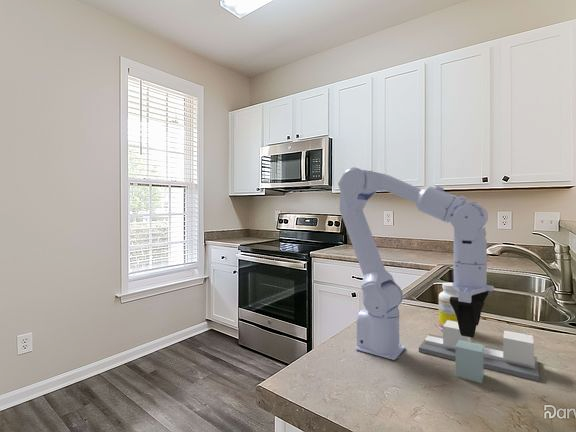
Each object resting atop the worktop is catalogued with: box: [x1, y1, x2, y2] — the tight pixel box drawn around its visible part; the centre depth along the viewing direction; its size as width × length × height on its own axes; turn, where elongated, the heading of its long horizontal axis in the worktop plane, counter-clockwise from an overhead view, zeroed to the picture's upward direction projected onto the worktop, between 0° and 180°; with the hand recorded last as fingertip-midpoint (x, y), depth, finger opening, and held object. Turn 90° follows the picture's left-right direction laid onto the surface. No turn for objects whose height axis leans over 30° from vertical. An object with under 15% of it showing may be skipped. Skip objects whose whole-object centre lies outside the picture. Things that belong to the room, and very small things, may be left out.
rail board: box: [418, 320, 540, 383], centre depth 70 cm, size 22×10×6 cm, turn 53°
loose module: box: [455, 340, 485, 384], centre depth 62 cm, size 4×4×6 cm
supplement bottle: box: [438, 282, 458, 332], centre depth 86 cm, size 7×7×13 cm
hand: (469, 329), depth 62 cm, fingers open, 7 cm apart
